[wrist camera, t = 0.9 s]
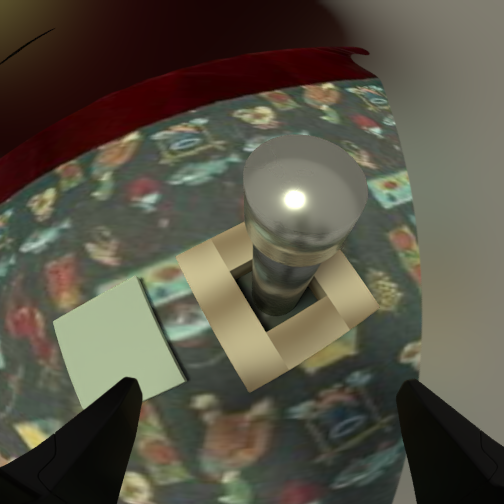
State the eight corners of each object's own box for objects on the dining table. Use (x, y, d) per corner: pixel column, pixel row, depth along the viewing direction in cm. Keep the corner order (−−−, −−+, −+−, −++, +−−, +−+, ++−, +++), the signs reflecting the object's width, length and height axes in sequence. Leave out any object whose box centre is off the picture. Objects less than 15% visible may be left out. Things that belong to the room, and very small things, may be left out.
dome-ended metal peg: (314, 302, 24) (391, 200, 10) (265, 331, 23) (290, 257, 9) (284, 257, 25) (317, 123, 12) (237, 283, 24) (220, 158, 11)
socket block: (368, 314, 23) (380, 307, 21) (249, 390, 20) (249, 392, 18) (295, 210, 27) (298, 195, 25) (181, 268, 25) (175, 256, 22)
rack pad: (187, 381, 21) (184, 381, 20) (94, 421, 19) (89, 422, 18) (139, 279, 24) (135, 275, 23) (58, 323, 22) (52, 321, 21)
